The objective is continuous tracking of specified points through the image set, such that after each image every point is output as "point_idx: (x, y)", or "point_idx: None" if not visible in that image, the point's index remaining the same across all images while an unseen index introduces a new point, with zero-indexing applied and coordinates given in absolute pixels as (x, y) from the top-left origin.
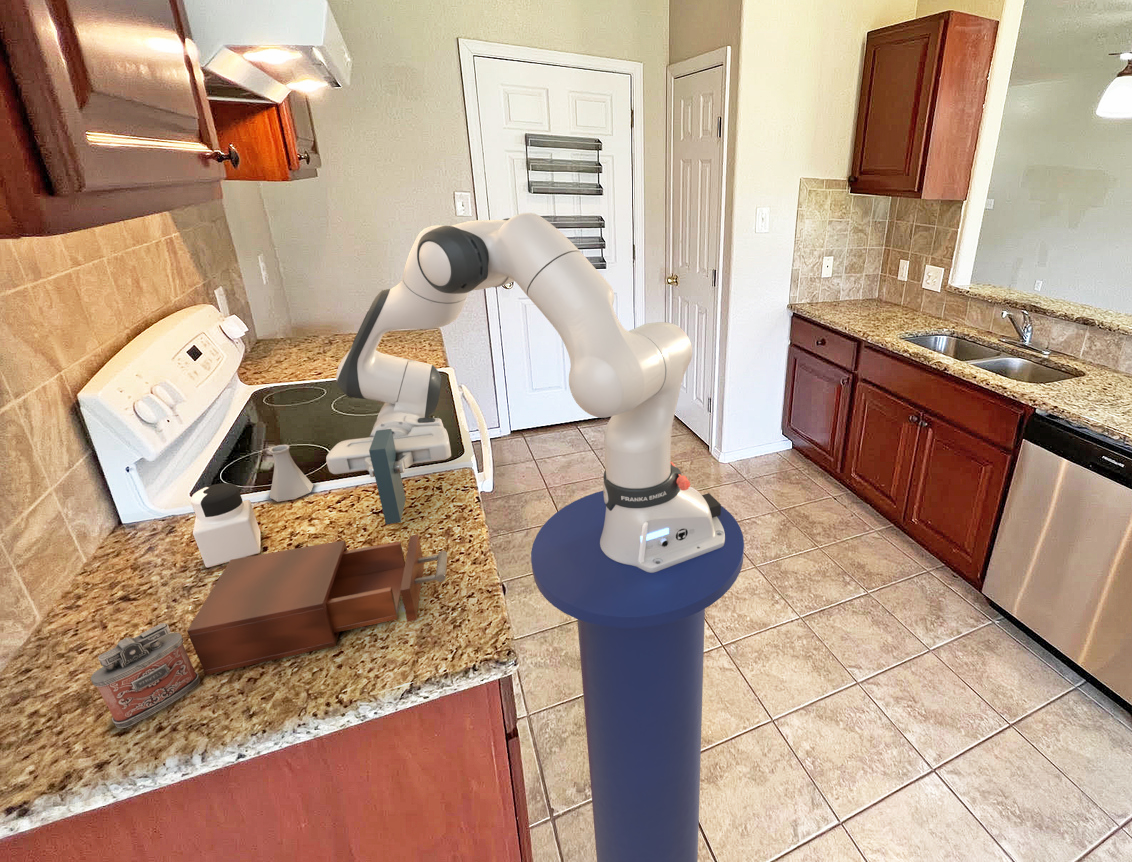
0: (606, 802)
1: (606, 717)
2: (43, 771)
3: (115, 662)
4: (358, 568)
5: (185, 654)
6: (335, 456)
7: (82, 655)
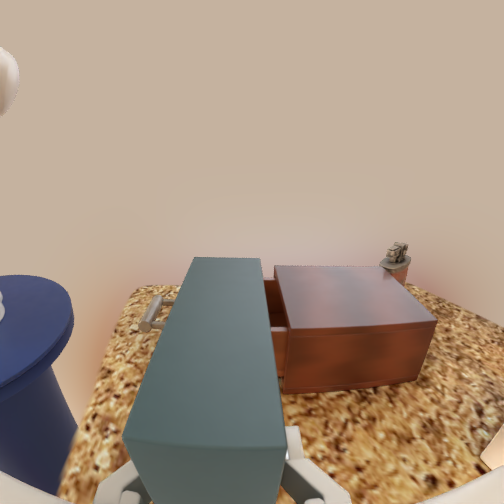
0: None
1: None
2: (407, 287)
3: (406, 260)
4: None
5: None
6: (496, 474)
7: (488, 338)
